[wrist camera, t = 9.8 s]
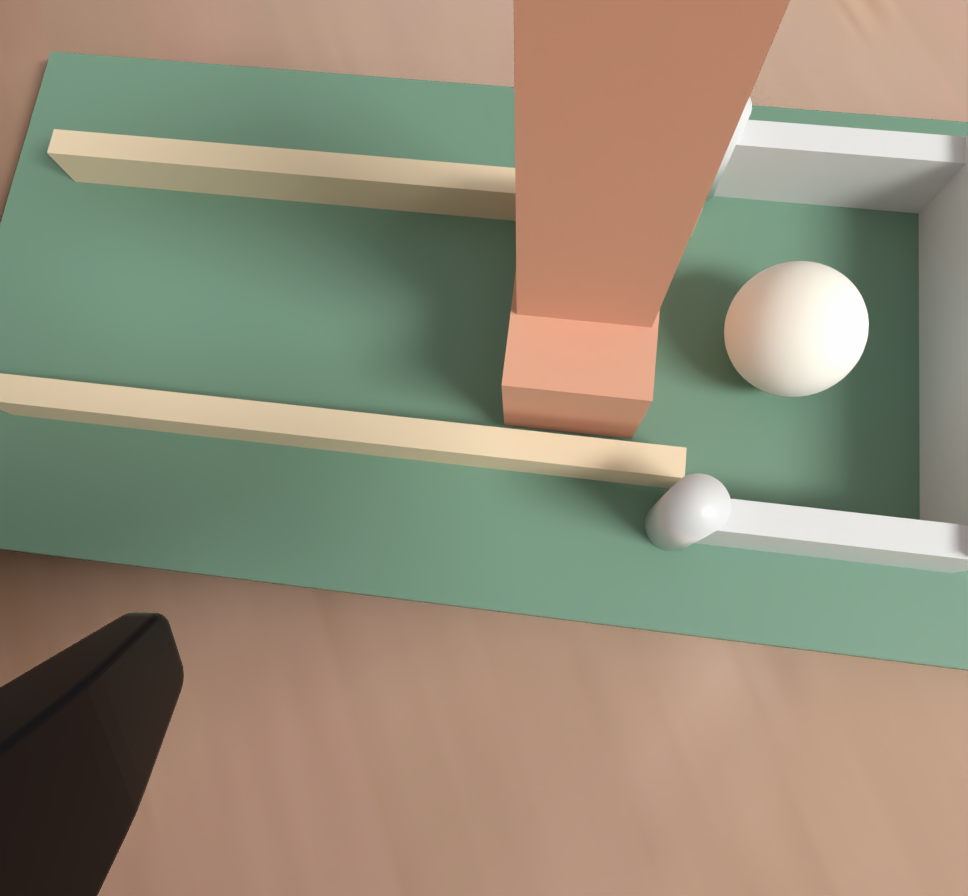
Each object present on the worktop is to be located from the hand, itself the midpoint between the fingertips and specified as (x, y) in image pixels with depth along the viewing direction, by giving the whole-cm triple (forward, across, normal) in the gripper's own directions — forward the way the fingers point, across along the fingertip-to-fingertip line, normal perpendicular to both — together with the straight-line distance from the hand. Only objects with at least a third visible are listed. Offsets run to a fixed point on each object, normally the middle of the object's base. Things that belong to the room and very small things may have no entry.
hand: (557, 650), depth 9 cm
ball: (+14, -6, +1) cm, 15 cm away
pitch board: (+16, +3, +2) cm, 16 cm away
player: (+15, 0, +1) cm, 15 cm away
